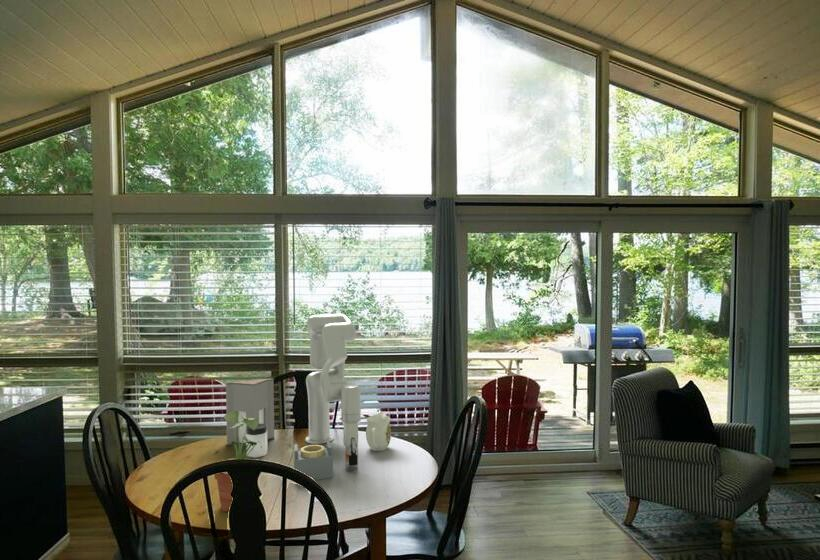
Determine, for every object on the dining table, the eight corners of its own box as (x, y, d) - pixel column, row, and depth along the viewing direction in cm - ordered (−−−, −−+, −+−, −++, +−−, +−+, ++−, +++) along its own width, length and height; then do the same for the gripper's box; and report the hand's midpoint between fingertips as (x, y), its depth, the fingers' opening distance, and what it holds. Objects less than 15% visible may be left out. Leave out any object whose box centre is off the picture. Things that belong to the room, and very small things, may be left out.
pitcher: (360, 455, 216) (359, 423, 216) (371, 442, 234) (371, 412, 234) (385, 457, 214) (385, 424, 214) (395, 443, 232) (394, 412, 232)
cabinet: (273, 437, 242) (272, 378, 242) (277, 443, 234) (276, 382, 233) (226, 444, 234) (225, 382, 234) (228, 450, 225) (227, 386, 225)
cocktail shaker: (344, 467, 203) (344, 433, 203) (357, 466, 204) (356, 432, 204) (346, 472, 198) (345, 437, 198) (359, 470, 199) (358, 436, 199)
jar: (271, 452, 222) (271, 424, 222) (258, 458, 214) (257, 430, 214) (256, 449, 226) (255, 422, 226) (242, 455, 218) (241, 427, 218)
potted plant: (263, 511, 165) (262, 402, 165) (213, 518, 161) (211, 406, 161) (263, 492, 180) (261, 392, 180) (216, 498, 176) (215, 396, 176)
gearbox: (294, 471, 199) (293, 443, 199) (330, 468, 202) (330, 440, 202) (294, 481, 189) (294, 451, 189) (332, 477, 193) (332, 448, 193)
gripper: (339, 412, 209) (339, 454, 209) (343, 423, 192) (344, 469, 192) (357, 410, 211) (358, 452, 211) (363, 422, 194) (364, 467, 194)
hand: (351, 460), depth 201 cm, fingers open, 9 cm apart
